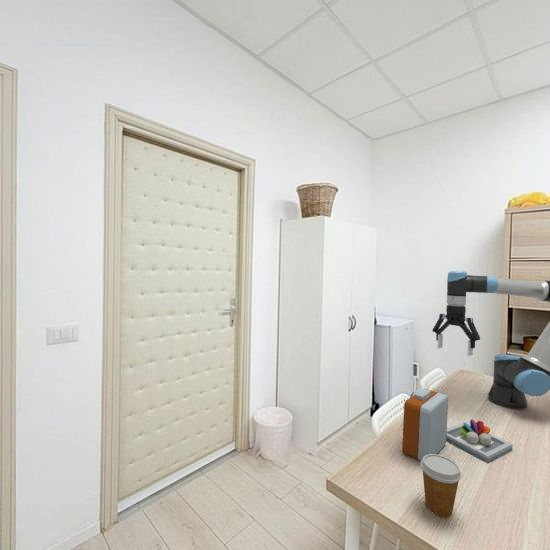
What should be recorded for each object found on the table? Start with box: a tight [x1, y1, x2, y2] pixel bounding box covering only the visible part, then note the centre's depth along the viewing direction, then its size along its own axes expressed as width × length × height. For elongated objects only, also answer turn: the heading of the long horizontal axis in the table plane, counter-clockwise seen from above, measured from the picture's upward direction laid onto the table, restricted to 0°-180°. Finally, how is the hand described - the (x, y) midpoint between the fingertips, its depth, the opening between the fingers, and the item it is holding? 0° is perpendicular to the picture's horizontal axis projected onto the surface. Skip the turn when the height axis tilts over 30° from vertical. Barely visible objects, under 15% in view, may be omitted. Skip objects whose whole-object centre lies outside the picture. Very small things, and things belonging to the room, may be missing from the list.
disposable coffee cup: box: [420, 454, 462, 518], centre depth 82 cm, size 10×10×12 cm
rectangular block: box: [401, 387, 449, 462], centre depth 109 cm, size 18×9×21 cm, turn 135°
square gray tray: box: [446, 421, 513, 464], centre depth 113 cm, size 16×17×2 cm
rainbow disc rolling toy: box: [460, 418, 491, 445], centre depth 113 cm, size 8×10×7 cm
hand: (454, 351), depth 141 cm, fingers open, 13 cm apart
